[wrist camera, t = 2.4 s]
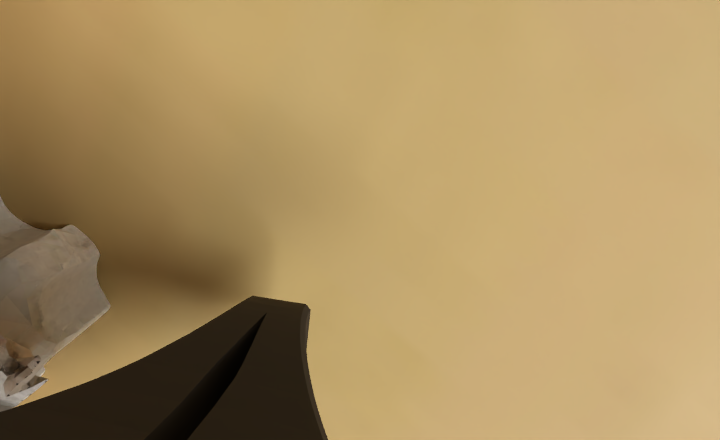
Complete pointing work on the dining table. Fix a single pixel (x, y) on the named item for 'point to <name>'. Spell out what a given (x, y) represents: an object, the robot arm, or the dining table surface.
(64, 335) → the egg carton
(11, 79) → the dining table surface
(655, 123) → the dining table surface
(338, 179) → the dining table surface
